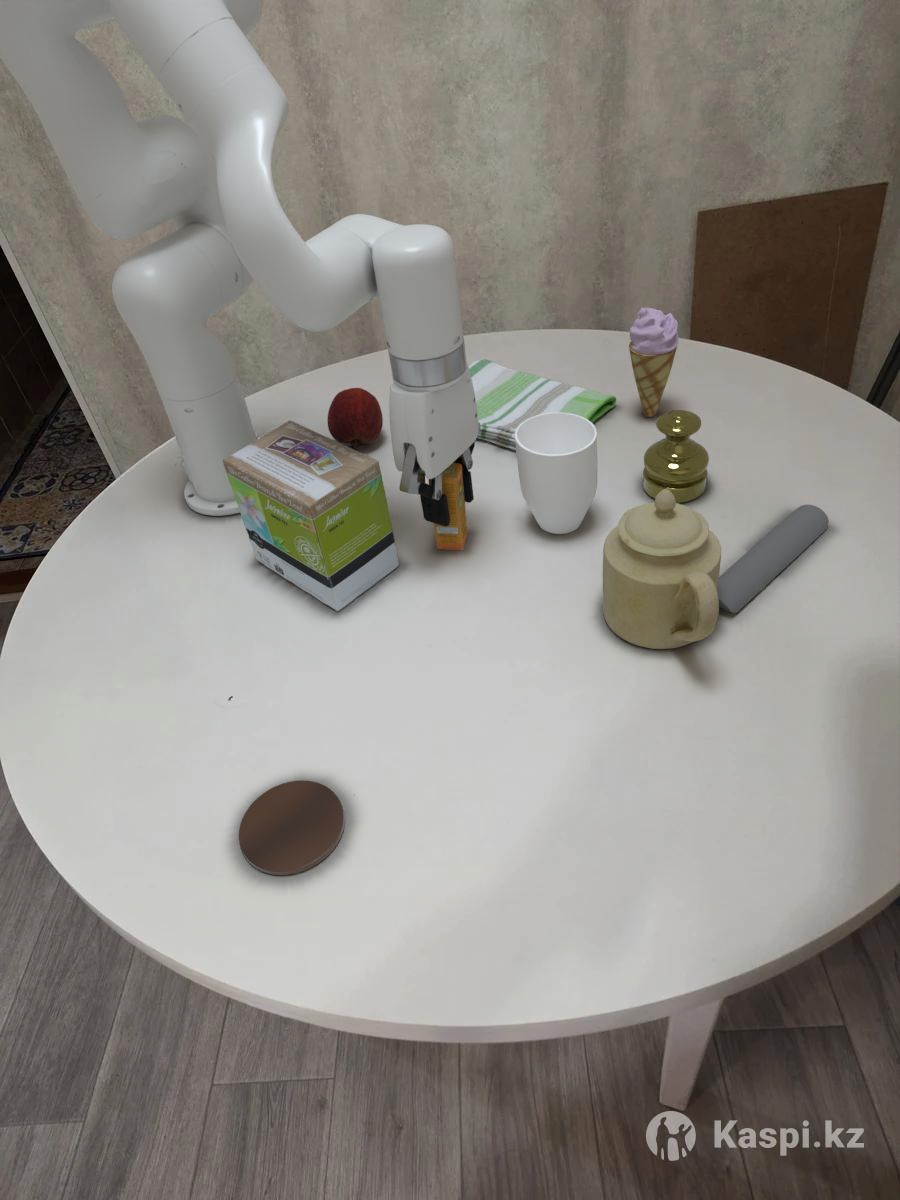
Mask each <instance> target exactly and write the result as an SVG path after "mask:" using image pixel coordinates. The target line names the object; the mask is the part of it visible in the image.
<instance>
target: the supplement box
mask: <svg viewBox="0 0 900 1200" xmlns="http://www.w3.org/2000/svg"><path fill="white" fill-rule="evenodd" d="M428 484H429V485H431V486H432V479H428ZM442 494H445V495H446V496H447V503H448V510H449V517H450V524H449V525H448V526H447V527H445V526H442V525H438V524H435V523H432V524H433V532H434V540H435V547H436V549H437V550H444V551H445V550H446V551H463V550H464V548H465V545H466V541H467V538H468V523H467V512H466V502H465V498H464V486H463V475H462V465H461V464H459V463H452V464H451V465H450V466H449V467H447V468H446V469H445V470H444V471H443V472H442Z"/></svg>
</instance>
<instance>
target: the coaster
mask: <svg viewBox="0 0 900 1200" xmlns="http://www.w3.org/2000/svg"><path fill="white" fill-rule="evenodd" d="M345 821H346V817H345V810H344V807H343V805H342V802H341V800H340V798H339V797H338V795H337V794H336V793H335V792H334V791H333V790H332V789H331V788H330V787H328V786H327V785H324V784H322V783H320V782H317V781H313V780H303V779H301V780H292V781H291V780H290V781H287V782H283V783H280V784H278V785H275V786H273V787H272V788H270V789H267V790H266V791H265V792H263V793H262V794H260V795H259V796H258V797H256V799H254V801H253V802H251V804H250V805H249V807H248V808H247V809H246V811H245V812H244V815H243V817H242V819H241V821H240V824H239V829H238V843H239V847H240V850H241V852H242V854H243V856H244V859H246V861H247V862H248V863H249V864H250V865H251V866H252V867H254V868H255V869H256V870H258V871H260V872H262V873H266V874H268V875H274V876H291V875H295V874H296V875H297V874H300V873H303V872H306V871H309V870H310V869H312V868H313V867H316V866H317V865H318V864H320V863H321V862H323V861H324V860H325V859H326V858H328V856H330V854H331V853H332V852H333V851H334V850H335V848H336V847H337V845H338V844H339V842H340V840H341V838H342V837H343V833H344V829H345V824H346V823H345Z"/></svg>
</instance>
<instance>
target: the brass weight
mask: <svg viewBox="0 0 900 1200" xmlns="http://www.w3.org/2000/svg"><path fill="white" fill-rule="evenodd" d="M655 425H656V429H657V431H659V432H660V433H661V434H663V435H664V436H665V437H664V438H662V439H660V440H658V441H656V442H654V443H653V444H651V445H650V446H649V447H648V448H647V449H646V450H645V452H644V455H643V465H644V468H643V471H642V475H643V482H642V486H643V489H644V491H645V492H646V494H647V495H648V496H650V498H653V499H655V498H656V496H657V495H658V494H659V492H661V491H662V490H664V489H668V490H669V491H671V492H672V494H673V495H674V497H675V501H676V503H678V504H681V503H687V502H691V501H693V500H695V499H697V498H699V497H700V496H702V494H703V493H705V492H704V491H705V490H706V485H707V477H708V465H709V462H710V456H709V453H708V451H707V449H706V448H705V447H704V446H703V445H702V444H700V443H698V442H697V441H695V440H693V439H692V438H691V436H692V435H694V434H696V433H698V431H699V430H700V429H701V427H702V419H701V417H700V416H699V414H696V413H695V412H692V411H690V410H686V409H673V410H669V411H666V412H664V413H662V414H660V415H659V416H658V417H657V419H656V422H655Z"/></svg>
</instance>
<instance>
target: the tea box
mask: <svg viewBox="0 0 900 1200" xmlns="http://www.w3.org/2000/svg"><path fill="white" fill-rule="evenodd" d="M222 460H223V464H224V467H225V470H226V473H227V476H228V479H229V482H230V485H231V487H232V490H233V493H234V496H235V499H236V502H237V505H238V507H239V510H240V513H239V514H240V515H241V518H242V522H243V525H244V527H245V530H246V533H247V535H248V538H249V542H250V544H251V547H252V550H253V553H254V556H255V558H256V560H257V561H258V562H260V563H261V564H262V565H264V566H265V567H267V568H268V569H269V570H271V571H274V572H275V573H276V574H278V575H279V576H281V577H282V578H284V579H285V580H288V581H289V582H291V583H292V584H294V585H295V586H297V587H298V588H299V589H301V590H303V591H304V592H306V593H308V594H310V595H311V596H312V597H314V598H315V599H317V600H319V601H320V602H321V603H323V604H325V605H327V606H328V607H330V608H331V609H333V610H334V611H336V612H339V611H341V610H342V609H343V608H345V607H346V606H348V605H349V604H350V603H352V602H353V601H355V600H356V599H357V598H358V597H360V596H361V595H362V594H364V593H365V592H366V591H367V590H369V589H370V588H371V587H373V586H374V585H376V584H377V583H378V582H380V581H381V580H382V579H384V578H385V577H387V575H390V573H391V572H392V571H394V570H395V569H396V568H397V567H399V565H400V562H399V556H398V551H397V545H396V542H395V541H396V540H395V535H394V530H393V526H392V521H391V516H390V511H389V507H388V506H389V505H388V499H387V494H386V491H385V485H384V481H383V475H382V471H381V466H380V461H379V460H378V459H375V458H373V457H372V456H369V455H367V454H365V453H362V452H360V451H358V450H356V449H355V448H351V447H350V446H347V445H346V444H344V443H340V442H338V441H336V440H335V439H333V438H332V439H331V438H330V437H327V436H325V435H324V434H321V433H319V432H316V431H314V430H312V429H310V428H308V427H306V426H304V425H302V424H299V423H297V422H295V421H293V420H290V419H289V420H287V421H286V422H284V423H282V424H281V425H279V426H278V427H276V428H274V429H273V430H271V431H269V432H268V433H266V434H265V435H263V436H261V437H260V438H257V440H256V441H254V442H253V443H251V444H249V445H248V446H246V447H244V448H243V449H241V450H239V451H238V452H236V453H234V454H233V455H231V456H229V457H228V458H226V459H222Z"/></svg>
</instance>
